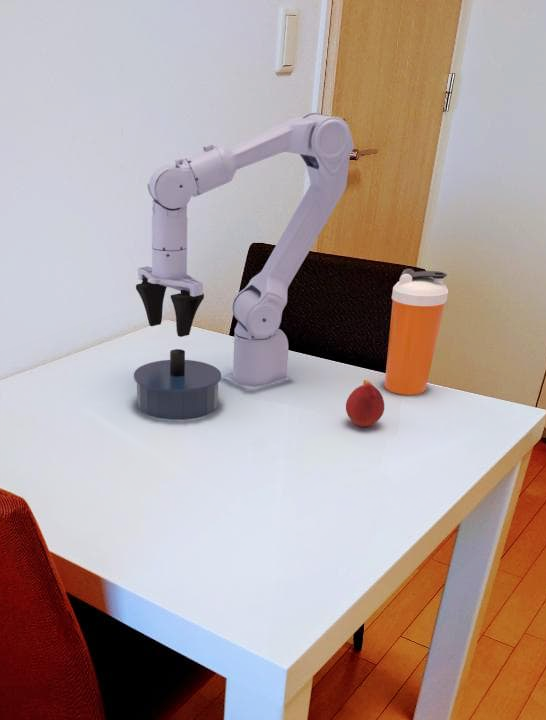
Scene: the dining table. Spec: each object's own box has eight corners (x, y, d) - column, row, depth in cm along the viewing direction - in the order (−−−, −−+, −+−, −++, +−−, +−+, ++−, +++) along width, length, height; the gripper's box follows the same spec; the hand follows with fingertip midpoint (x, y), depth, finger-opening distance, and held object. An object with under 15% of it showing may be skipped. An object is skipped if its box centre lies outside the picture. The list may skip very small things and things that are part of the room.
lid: (187, 360, 142) (187, 332, 139) (238, 384, 132) (240, 355, 129) (117, 376, 135) (116, 348, 132) (166, 403, 125) (166, 372, 122)
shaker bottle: (432, 399, 138) (454, 279, 128) (379, 395, 140) (396, 277, 129) (429, 380, 146) (448, 267, 135) (378, 377, 147) (394, 264, 137)
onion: (378, 421, 130) (385, 374, 126) (383, 436, 125) (390, 387, 121) (341, 420, 131) (347, 373, 126) (345, 435, 126) (351, 386, 122)
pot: (186, 386, 144) (186, 358, 141) (233, 410, 134) (234, 380, 132) (122, 403, 137) (121, 373, 135) (167, 429, 128) (167, 397, 125)
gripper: (122, 243, 133) (124, 324, 140) (179, 258, 124) (178, 345, 131) (156, 237, 137) (156, 317, 144) (213, 252, 128) (210, 336, 135)
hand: (169, 330), depth 138 cm, fingers open, 7 cm apart
